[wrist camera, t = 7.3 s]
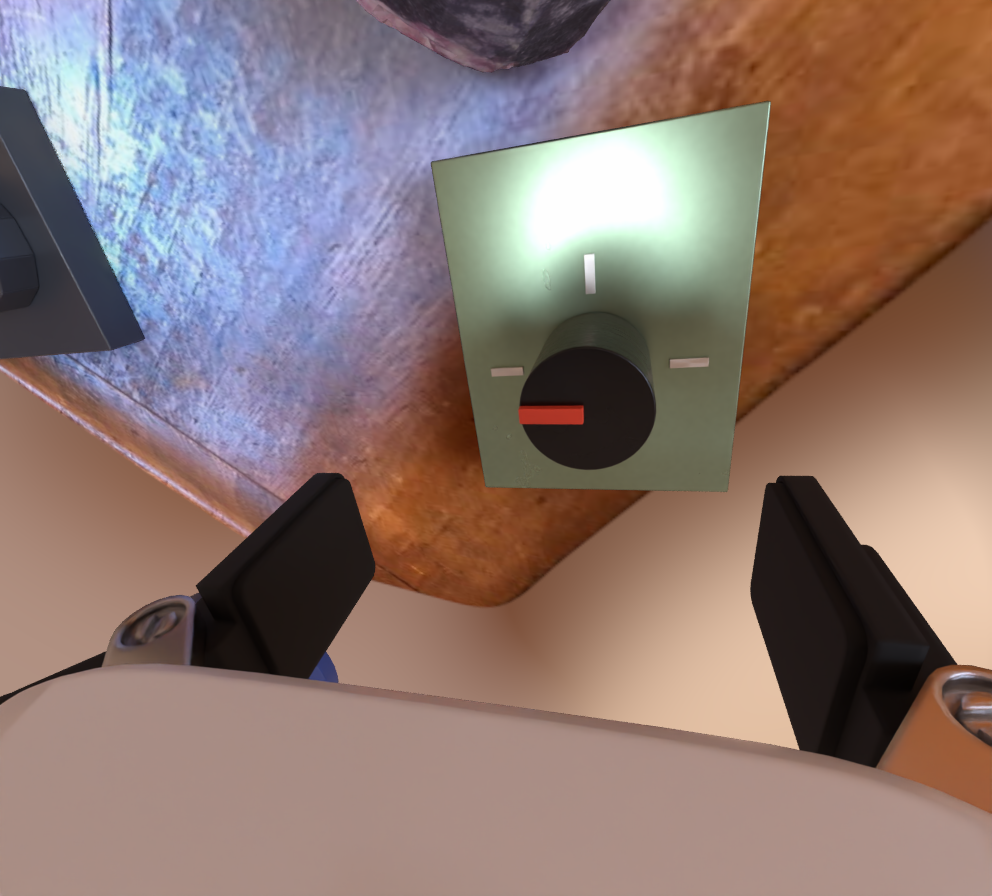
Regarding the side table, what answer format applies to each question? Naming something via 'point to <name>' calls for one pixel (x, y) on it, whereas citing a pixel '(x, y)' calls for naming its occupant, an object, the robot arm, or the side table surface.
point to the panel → (610, 281)
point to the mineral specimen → (490, 27)
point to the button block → (50, 252)
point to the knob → (590, 393)
